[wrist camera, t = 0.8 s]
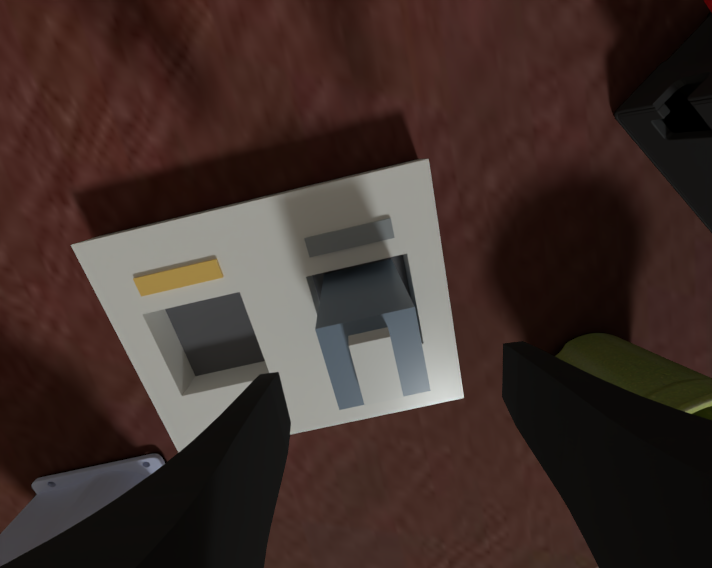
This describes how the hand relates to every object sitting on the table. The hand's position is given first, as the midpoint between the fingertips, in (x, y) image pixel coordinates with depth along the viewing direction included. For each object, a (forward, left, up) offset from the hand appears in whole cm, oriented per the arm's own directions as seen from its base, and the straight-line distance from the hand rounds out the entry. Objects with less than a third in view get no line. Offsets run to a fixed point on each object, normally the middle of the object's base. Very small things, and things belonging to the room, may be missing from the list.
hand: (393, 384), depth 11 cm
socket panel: (-5, -1, -10) cm, 12 cm away
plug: (-1, -1, -10) cm, 10 cm away
